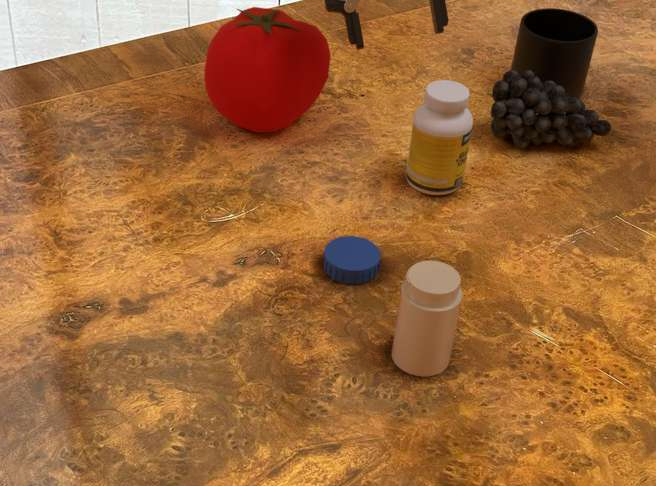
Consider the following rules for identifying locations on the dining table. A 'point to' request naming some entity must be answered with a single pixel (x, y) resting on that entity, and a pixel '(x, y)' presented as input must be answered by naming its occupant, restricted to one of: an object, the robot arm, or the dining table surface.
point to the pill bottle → (440, 139)
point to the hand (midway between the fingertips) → (400, 41)
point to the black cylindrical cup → (556, 47)
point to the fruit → (541, 112)
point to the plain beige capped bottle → (427, 318)
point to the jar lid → (351, 260)
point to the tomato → (266, 69)
